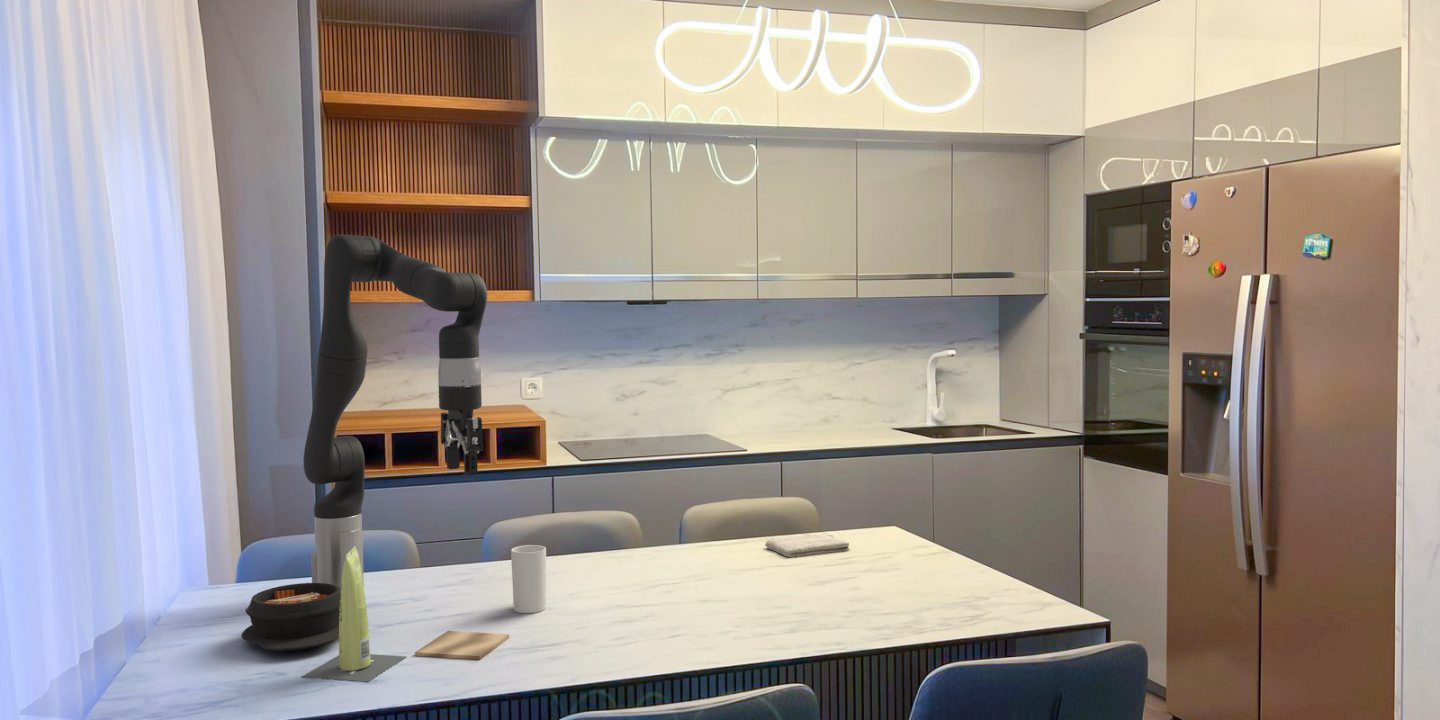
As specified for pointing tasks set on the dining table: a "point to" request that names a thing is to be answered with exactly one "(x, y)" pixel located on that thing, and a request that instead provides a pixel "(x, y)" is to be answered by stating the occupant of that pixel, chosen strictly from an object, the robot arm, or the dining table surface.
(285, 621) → the casserole
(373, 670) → the label
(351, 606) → the tube
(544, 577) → the mug
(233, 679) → the dining table surface
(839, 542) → the washcloth
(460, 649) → the cork pad
